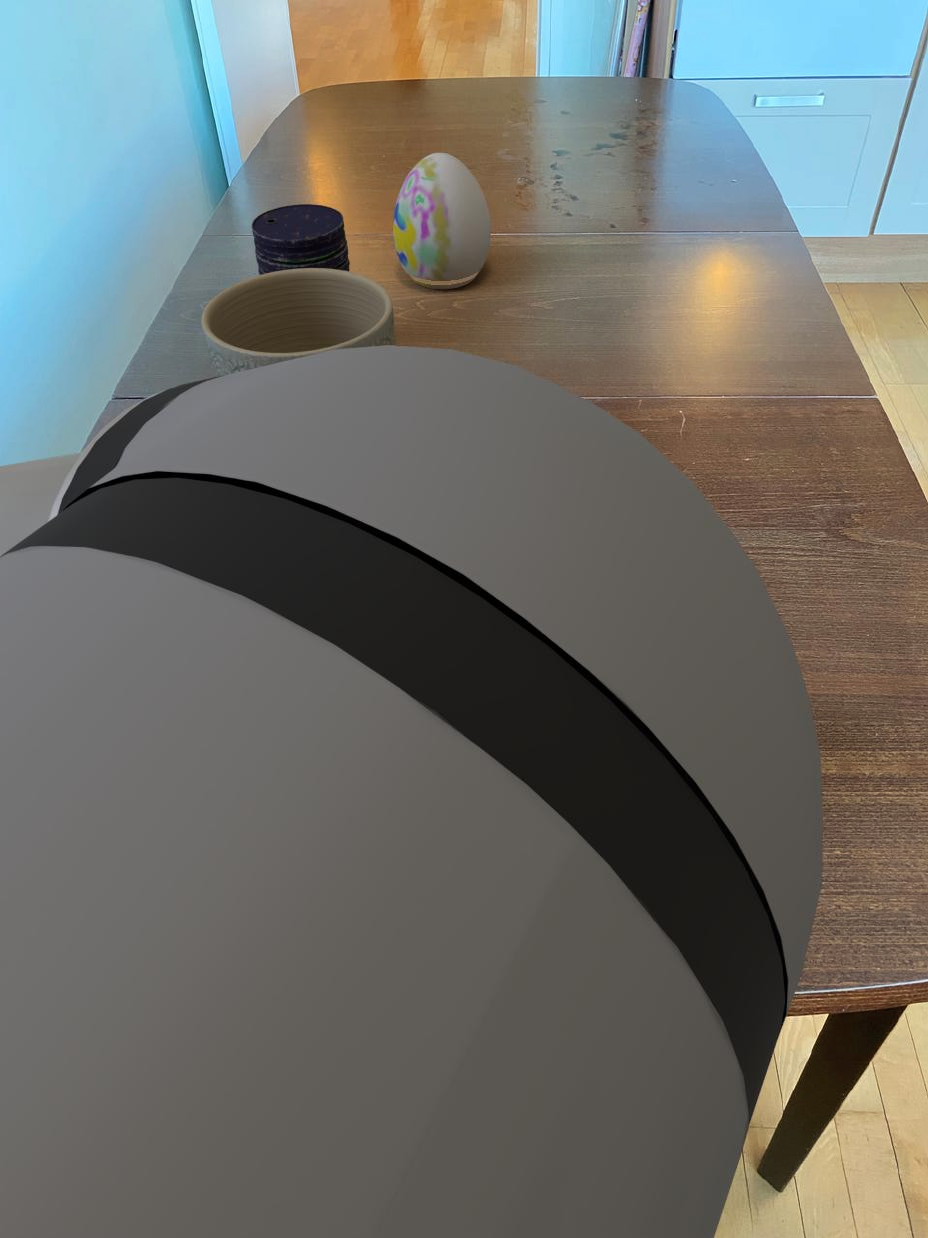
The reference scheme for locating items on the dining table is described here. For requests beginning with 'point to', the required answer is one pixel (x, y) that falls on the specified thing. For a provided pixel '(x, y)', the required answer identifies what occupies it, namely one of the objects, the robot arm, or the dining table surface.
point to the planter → (295, 318)
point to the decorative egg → (441, 222)
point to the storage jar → (300, 239)
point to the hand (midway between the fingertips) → (363, 693)
